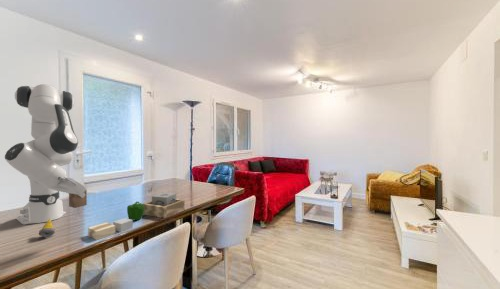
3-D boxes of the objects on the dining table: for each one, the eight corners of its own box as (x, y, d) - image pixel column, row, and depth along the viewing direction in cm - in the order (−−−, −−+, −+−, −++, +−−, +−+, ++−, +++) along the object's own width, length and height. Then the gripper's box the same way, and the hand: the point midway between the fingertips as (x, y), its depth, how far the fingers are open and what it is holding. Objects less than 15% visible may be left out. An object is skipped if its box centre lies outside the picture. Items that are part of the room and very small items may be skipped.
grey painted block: (113, 229, 109) (113, 221, 109) (125, 225, 115) (125, 217, 115) (121, 232, 107) (121, 224, 106) (132, 227, 112) (132, 220, 112)
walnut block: (69, 206, 97) (68, 188, 97) (80, 203, 101) (80, 186, 101) (75, 207, 95) (75, 189, 95) (86, 205, 99) (86, 187, 99)
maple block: (88, 236, 102) (88, 227, 102) (107, 230, 109) (107, 222, 109) (96, 240, 98) (96, 231, 98) (115, 234, 105) (115, 225, 105)
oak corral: (142, 213, 132) (142, 203, 132) (163, 205, 147) (163, 196, 147) (164, 218, 125) (164, 207, 125) (184, 209, 141) (184, 199, 141)
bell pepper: (125, 218, 124) (125, 200, 124) (141, 215, 129) (141, 198, 129) (129, 223, 118) (129, 204, 117) (145, 219, 123) (145, 201, 123)
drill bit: (34, 241, 97) (39, 220, 103) (49, 242, 101) (52, 222, 107) (41, 235, 96) (46, 214, 102) (56, 236, 100) (59, 216, 106)
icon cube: (176, 209, 141) (176, 193, 141) (166, 214, 132) (166, 197, 131) (162, 207, 144) (162, 192, 143) (152, 212, 134) (151, 196, 134)
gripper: (74, 172, 87) (99, 191, 96) (45, 168, 95) (71, 187, 104) (60, 185, 83) (88, 204, 92) (32, 181, 91) (60, 198, 101)
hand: (79, 195), depth 98 cm, fingers closed on walnut block, 4 cm apart
